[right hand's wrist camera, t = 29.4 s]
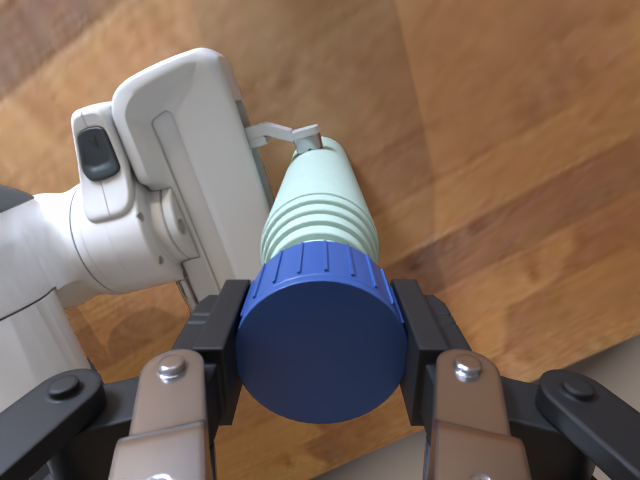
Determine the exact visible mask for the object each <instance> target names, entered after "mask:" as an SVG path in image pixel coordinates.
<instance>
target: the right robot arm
mask: <svg viewBox="0 0 640 480" xmlns="http://www.w3.org/2000/svg"><path fill="white" fill-rule="evenodd" d="M250 286H251V280H250V279H227V280H226V281H225V283H224V285H223V287H222V289H221V291H220V293H219V295H208V296H207V297H205V298H204V299H203V300H201V301H200V302H199V303H197V305H196V307H195V309H194V310H193V312H192V315H191V316H190V317H189V319H188V321H187V324H185V326H184V328H183V330H182V331H181V333H180V335H179V337H178V338H177V340H176V342H175V344H174V345H173V347H172V349H171V350H170V351H167V352H164V353H161V354H159V355H157V356H155V357H154V358H152V359H151V360H149V361H148V362H147V363H146V364H145V365H144V367H143V368H142V370H141V373H140V376H138V377H136V378H132V379H128V380H123V381H119V382H114V383H109V384H105V385H103V382H102V379H101V376H100V374H99V373H98V372H97V371H95V370H92V369H84V368H81V369H73V370H69V371H65V372H62V373H59V374H57V375H54V376H52V377H50V378H48V379H47V380H45V381H43V382H42V383H40V384H39V385H38V386H36V387H35V388H34V389H32V390H31V391H29V392H28V393H27V394H25V395H24V396H23V397H21V398H20V399H19V400H17V401H16V402H14V403H13V404H12V405H10V406H9V407H8V408H6V409H5V410H3V411H2V412H1V413H0V480H29V479H30V478H31V477H32V476H33V475H34V474H35V473H36V472H37V471H38V470H39V469H40V468H41V467H43V466H44V465H45V464H46V463H47V464H48V466H49V469H50V473H49V474H48V475H47V476H46V477H45V478H44V479H43V480H217V467H216V452H215V442H214V439H215V436H216V432H217V429H218V426H219V425H232V422H233V418H234V414H235V410H236V406H237V402H238V399H239V395H240V391H241V387H242V382H241V379H240V377H239V375H238V368H237V358H236V347H235V336H236V333H237V330H238V327H239V325H240V322H241V319H242V318H240V314H241V312H242V309H243V306H244V303H245V300H246V298H247V295H248V292H249V289H250ZM390 287H392V290H393V292H394V295H395V298H396V301H397V303H398V306H399V309H400V312H401V315H402V317H403V320H404V325H403V326H404V329H405V332H406V336H407V350H406V360H405V370H404V375H403V378H402V380H401V382H400V387H401V390H402V394H403V398H404V402H405V405H406V409H407V413H408V416H409V420H410V424H411V426H424V427H425V430H426V433H427V435H426V443H425V452H424V467H423V480H597V479H596V478H595V477H594V476H593V472H594V469H595V466H597V467H599V468H600V469H601V470H602V471H603V472H604V473H605V474H606V475H607V476H608V477H609V478H610V479H611V480H640V413H639V412H638V411H636V410H635V409H634V408H632V407H631V406H630V405H628V404H627V403H626V402H624V401H623V400H621V399H620V398H619V397H617V396H616V395H615V394H613V393H612V392H611V391H609V390H608V389H606V388H605V387H604V386H602V385H601V384H599V383H598V382H596V381H595V380H593V379H591V378H589V377H587V376H585V375H582V374H579V373H576V372H573V371H568V370H550V371H547V372H545V373H543V374H542V376H541V378H540V381H539V385H536V384H531V383H526V382H522V381H517V380H513V379H509V378H506V377H503V376H500V373H499V370H498V368H497V367H496V365H495V364H494V363H493V362H492V361H491V360H489V359H488V358H486V357H485V356H483V355H481V354H479V353H476V352H473V351H472V350H471V348H470V346H469V345H468V343H467V341H466V340H465V338H464V336H463V334H462V333H461V331H460V329H459V327H458V326H457V325H456V322H455V321H454V319H453V317H452V316H451V314H450V312H449V310H448V308H447V307H446V305H445V304H444V303H443V302H442V301H440V300H439V299H438V298H436V297H435V296H434V295H423V293H422V291H421V289H420V287H419V285H418V283H417V281H416V280H391V283H390Z"/></svg>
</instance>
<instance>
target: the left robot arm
mask: <svg viewBox="0 0 640 480" xmlns="http://www.w3.org/2000/svg"><path fill="white" fill-rule="evenodd" d="M71 126H72V133H73V138H74V144H75V149H76V155H77V162H78V168H79V176H80V184H79V185H77V186H75V187H74V188H72V189H71V190H69V191H67V192H65V193H59V194H55V193H44V194H37V195H33V196H32V195H30V194H28V193H26V192H23V191H20V190H17V189H14V188H11V187H7V186H3V185H0V413H1V412H2V411H3V410H5V409H6V408H8V407H9V406H10V405H12V404H13V403H14V402H16V401H17V400H19V399H20V398H21V397H23V396H24V395H25V394H27V393H28V392H29V391H31V390H32V389H34V388H35V387H36V386H38V385H39V384H40V383H42V382H43V381H45V380H47V379H48V378H50V377H52V376H54V375H57V374H59V373H62V372H65V371H69V370H73V369H81V368H84V369H92V370H95V371H96V369H95V368H94V366H93V364H92V363H91V361H90V360H89V359H88V358H87V357H86V356H85V353H84V351H83V349H82V347H81V345H80V343H79V341H78V338H77V336H76V334H75V332H74V330H73V328H72V326H71V323H70V321H69V319H68V317H67V315H66V313H65V311H64V309H66V308H70V307H74V306H77V305H80V304H83V303H85V302H87V301H89V300H90V299H92V298H94V297H95V296H98V295H101V294H110V295H120V294H127V293H131V292H135V291H139V290H143V289H147V288H151V287H155V286H160V285H164V284H168V283H172V282H176V284H177V286H178V288H179V291H180V293H181V295H182V297H183V299H184V300H185V302H186V304H187V305H188V307H189V309H190V314H191V315H192V312H193V310H194V309H195V307H196V305H197V303H199V302H200V301H201V300H203V299H204V298H205V297H207V296H208V295H219V293H220V291H221V289H222V287H223V285H224V283H225V281H226V280H227V279H250V280H251V283H252V281H253V280H255V279H256V277H257V275H258V273H259V272H260V270H261V269H262V263H261V255H260V250H261V237H262V233H263V229H264V227H265V224H266V222H267V219H268V217H269V214H270V212H271V209H272V207H273V204H274V202H275V200H274V197H273V194H272V190H271V187H270V184H269V181H268V178H267V175H266V172H265V169H264V165H263V162H262V159H261V156H260V153H259V150H258V147H260V146H263V145H266V144H267V143H268V142H269V141H270V140H271V138H270V137H274V138H277V139H281V140H285V141H289V142H293V143H295V147H296V150H297V153H298V154H301V153H304V152H307V151H308V150H309V149H312V150H315V149H319V148H321V147H323V143H322V139H321V135H320V131H319V127H318V124H315V125H311V126H307V127H304V128H300V129H296V130H293V129H292V128H288V127H285V126H281V125H278V124H274V123H271V122H267V121H264V122H261V123H257V124H254V125H250V122H249V118H248V115H247V112H246V109H245V106H244V103H243V100H242V97H241V93H240V90H239V87H238V84H237V81H236V78H235V75H234V72H233V68H232V65H231V63H230V61H229V60H228V58H226V57H225V56H223V55H221V54H220V53H218V52H216V51H214V50H211V49H208V48H197V49H193V50H190V51H186V52H184V53H181V54H178V55H176V56H173V57H171V58H168V59H166V60H163V61H161V62H159V63H157V64H155V65H152V66H150V67H148V68H146V69H144V70H142V71H141V72H139V73H137V74H135V75H133V76H132V77H130V78H128V79H127V80H126V81H124V82H123V83H122V84H121V85H120V86H119V87H118V89H117V90H116V92H115V93H114V96H113V98H112V102H103V103H98V104H94V105H90V106H87V107H84V108H81V109H79V110H77V111H75V112H74V113H73V115H72V119H71ZM102 382H103V381H102ZM103 385H105V384H104V382H103ZM49 473H50V469H49V466H48V464H47V463H46V464H45V465H44V466H43V467H41V468H40V469H39V470H38V471H37V472H36V473H35V474H34V475H33V476H32V477H31V478H30V479H29V480H43V479H44V478H45V477H46V476H47V475H48V474H49Z"/></svg>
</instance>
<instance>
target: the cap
mask: <svg viewBox="0 0 640 480" xmlns="http://www.w3.org/2000/svg"><path fill="white" fill-rule="evenodd" d="M240 318H242V319H241V322H240V325H239V327H238V330H237V333H236V336H235V347H236V358H237V368H238V375H239V377H240V379H241V382H242V383H243V385H244V386H245V388H246V389H247V391H248V392H249V393H250V394H251V395H252V396H253V398H255V399H256V400H257V401H258V402H259V403H260V404H262V405H263V406H264V407H266V408H267V409H269V410H271V411H272V412H274V413H276V414H278V415H281V416H283V417H285V418H288V419H292V420H295V421H299V422H305V423H315V424H329V423H337V422H342V421H347V420H351V419H354V418H357V417H359V416H362V415H364V414H366V413H368V412H370V411H371V410H373V409H375V408H376V407H378V406H379V405H380V404H382V403H383V402H384V401H385V400H386V399H387V398H388V397H389V396H390V395H391V394H392V393H393V392H394V391H395V389H396V388H397V387H398V385H399V383H400V382H401V380H402V378H403V375H404V370H405V360H406V350H407V336H406V332H405V329H404V326H403V325H404V320H403V317H402V315H401V312H400V309H399V306H398V303H397V301H396V298H395V295H394V292H393V290H392V287H389V284H388V282H387V279H386V276H385V273H384V270H383V269H380V268H379V267H378V265H377V264H376V263H375V262H374V261H373V260H372V259H371V258H369V255H368V254H366V255H365V254H364V253H362V252H361V251H359V250H357V249H355V248H353V247H351V246H349V245H348V244H346V245H345V244H342V243H337V242H331V241H327V240H324V241H311V242H304V243H303V242H301V243H300V244H297V245H294V246H291V247H289V248H287V249H285V250H283V251H282V250H281V251H280V252H279V253H278V254H276V255H275V256H274V257H273V258H271V259H270V260H269V261H268V262H267V263H266V264H265V263H264V264H263V266H262V269H261V270H260V272H259V273H258V275H257V277H256V279H255V280H253V281H252V283H251V286H250V289H249V292H248V295H247V298H246V300H245V303H244V306H243V309H242V312H241V314H240Z"/></svg>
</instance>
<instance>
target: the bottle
mask: <svg viewBox="0 0 640 480" xmlns="http://www.w3.org/2000/svg"><path fill="white" fill-rule="evenodd" d="M321 139H322V143H323V147H321V148H319V149H315V150H312V149H309V150H308V151H307V152H304V153H301V154H298V153H297V150H295V152H294V154H293V157H292V159H291V162H290V164H289V167H288V169H287V172H286V174H285V177H284V179H283V182H282V184H281V187H280V189H279V192H278V194H277V197H276V199H275V202H274V204H273V207H272V209H271V212H270V214H269V217H268V219H267V222H266V224H265V227H264V229H263V233H262V237H261V250H260V255H261V263H262V266H263V264H264V263H265V264H266V263H267V262H268V261H269V260H270V259H271V258H273V257H274V256H275V255H276V254H278V253H279V252H280V251H281V250H282V251H283V250H285V249H287V248H289V247H291V246H294V245H297V244H300V243H301V242H303V243H304V242H311V241H324V240H327V241H331V242H337V243H342V244H345V245H346V244H348V245H349V246H351V247H353V248H355V249H357V250H359V251H361V252H362V253H364V254H365V255H366V254H368V255H369V258H371V259H372V260H373V261H374V262H375V263H376V264H377V265H378V261H379V240H378V234H377V230H376V228H375V225H374V222H373V220H372V217H371V215H370V212H369V210H368V207H367V205H366V202H365V200H364V197H363V195H362V192H361V190H360V187H359V185H358V182H357V180H356V177H355V175H354V172H353V170H352V167H351V164H350V162H349V159H348V157H347V154H346V152H345V150H344V149H343V148H342V146H341V145H340V144H339V143H337V142H336V141H334V140H333V139H330V138H327V137H321Z"/></svg>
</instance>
